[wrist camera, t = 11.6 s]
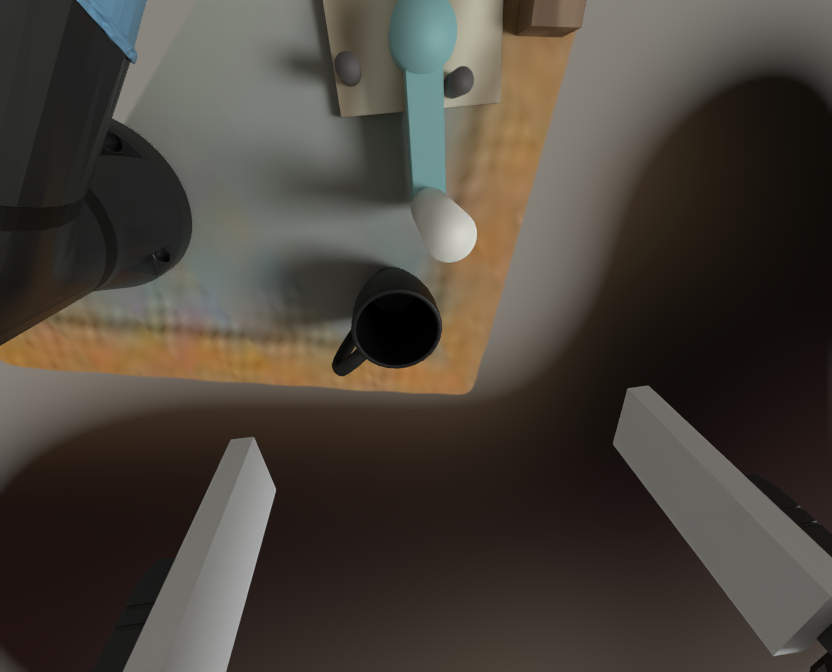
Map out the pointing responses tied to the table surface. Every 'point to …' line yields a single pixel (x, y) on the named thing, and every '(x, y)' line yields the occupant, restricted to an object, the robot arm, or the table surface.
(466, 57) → the press base
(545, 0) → the walnut block
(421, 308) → the mug
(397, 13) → the lever
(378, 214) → the table surface
